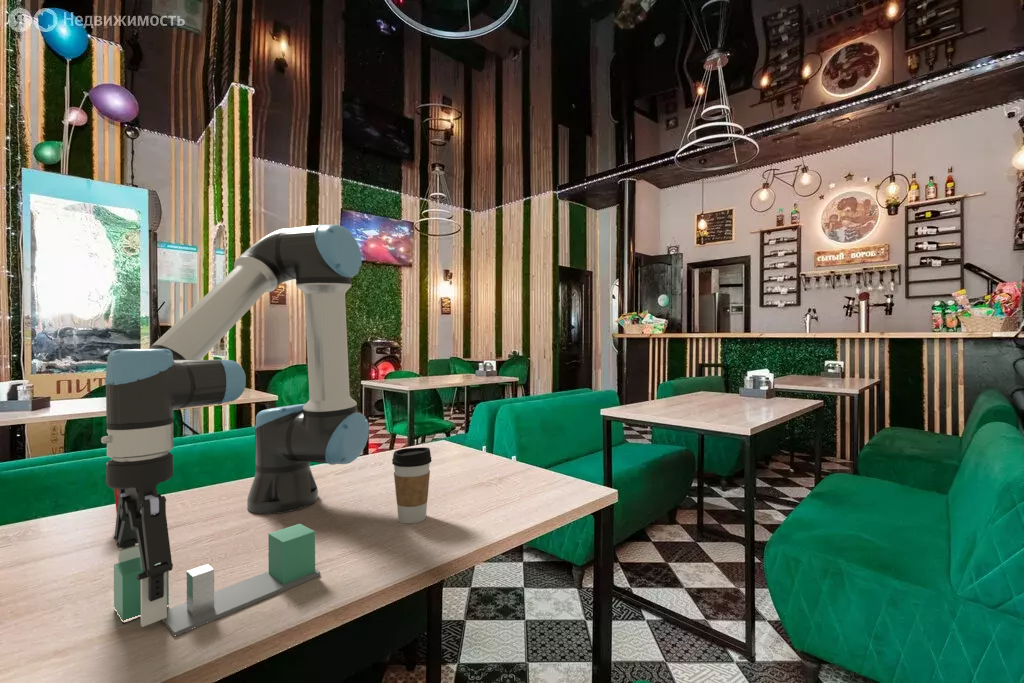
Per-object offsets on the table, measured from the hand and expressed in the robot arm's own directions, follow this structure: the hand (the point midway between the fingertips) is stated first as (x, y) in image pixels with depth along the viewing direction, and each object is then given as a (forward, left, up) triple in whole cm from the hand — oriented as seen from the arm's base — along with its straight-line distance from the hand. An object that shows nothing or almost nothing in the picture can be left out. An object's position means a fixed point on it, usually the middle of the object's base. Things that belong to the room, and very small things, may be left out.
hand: (141, 605), depth 66 cm
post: (+8, +5, -1) cm, 9 cm away
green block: (0, 0, -1) cm, 1 cm away
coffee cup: (+4, +46, -1) cm, 46 cm away
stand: (+8, +11, -1) cm, 13 cm away
